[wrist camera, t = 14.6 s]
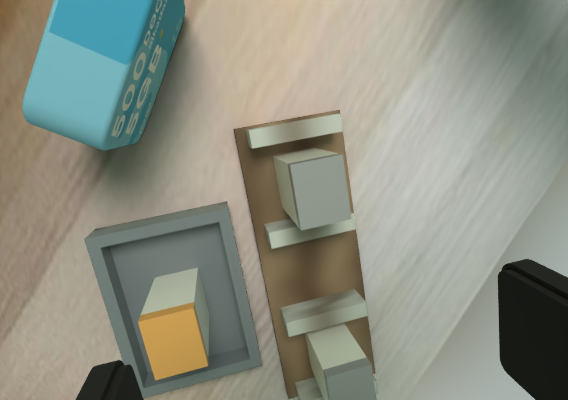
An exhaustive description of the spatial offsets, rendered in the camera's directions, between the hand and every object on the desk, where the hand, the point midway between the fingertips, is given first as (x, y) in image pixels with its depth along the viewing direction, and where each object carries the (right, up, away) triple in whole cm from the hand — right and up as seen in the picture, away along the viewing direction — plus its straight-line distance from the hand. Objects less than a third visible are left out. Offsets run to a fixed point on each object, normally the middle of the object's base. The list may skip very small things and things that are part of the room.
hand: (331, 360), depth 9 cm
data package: (-14, +15, +22) cm, 30 cm away
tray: (-11, -5, +27) cm, 29 cm away
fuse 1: (0, +6, +26) cm, 27 cm away
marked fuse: (-11, -5, +26) cm, 29 cm away
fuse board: (+2, -2, +29) cm, 29 cm away
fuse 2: (+3, -11, +30) cm, 32 cm away
